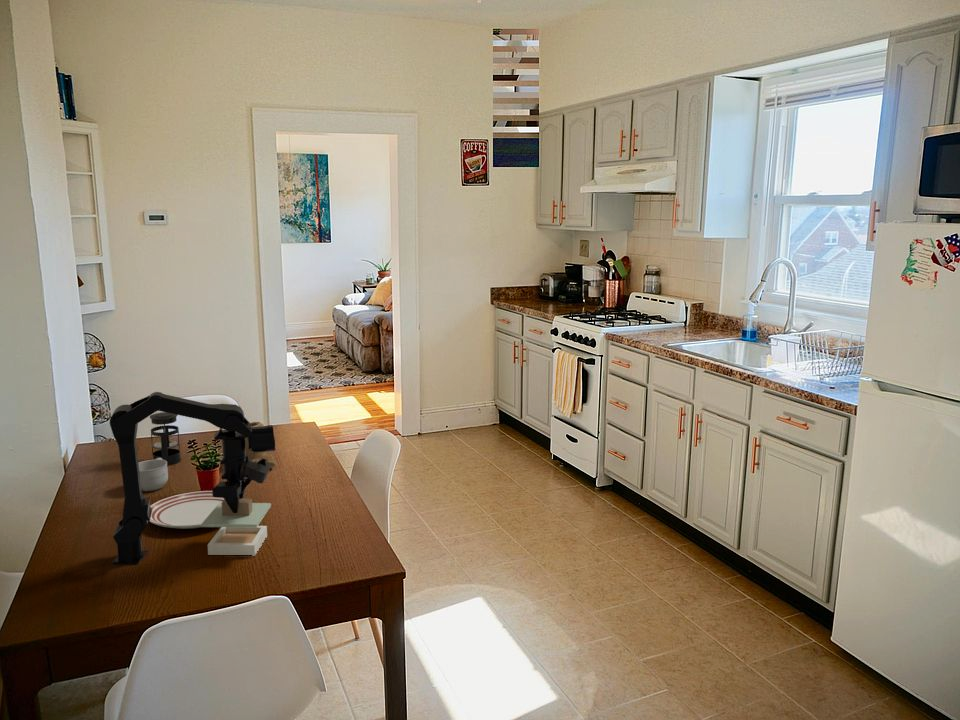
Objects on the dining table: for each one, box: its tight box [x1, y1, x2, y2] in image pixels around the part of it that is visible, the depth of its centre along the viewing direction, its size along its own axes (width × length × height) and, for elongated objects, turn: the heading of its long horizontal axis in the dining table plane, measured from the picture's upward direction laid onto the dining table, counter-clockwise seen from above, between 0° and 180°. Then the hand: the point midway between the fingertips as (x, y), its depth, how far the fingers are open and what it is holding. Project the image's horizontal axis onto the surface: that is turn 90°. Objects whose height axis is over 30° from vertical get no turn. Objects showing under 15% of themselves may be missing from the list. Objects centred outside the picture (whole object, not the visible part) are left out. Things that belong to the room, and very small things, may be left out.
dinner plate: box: [148, 490, 245, 530], centre depth 214 cm, size 28×27×3 cm
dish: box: [207, 525, 268, 557], centre depth 196 cm, size 12×12×3 cm
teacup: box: [138, 458, 169, 492], centre depth 235 cm, size 14×11×8 cm
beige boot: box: [237, 421, 277, 469], centre depth 256 cm, size 15×12×15 cm
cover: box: [201, 498, 272, 528], centre depth 194 cm, size 14×14×4 cm
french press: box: [149, 411, 182, 467], centre depth 256 cm, size 12×9×23 cm
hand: (237, 510), depth 194 cm, fingers closed on cover, 3 cm apart
